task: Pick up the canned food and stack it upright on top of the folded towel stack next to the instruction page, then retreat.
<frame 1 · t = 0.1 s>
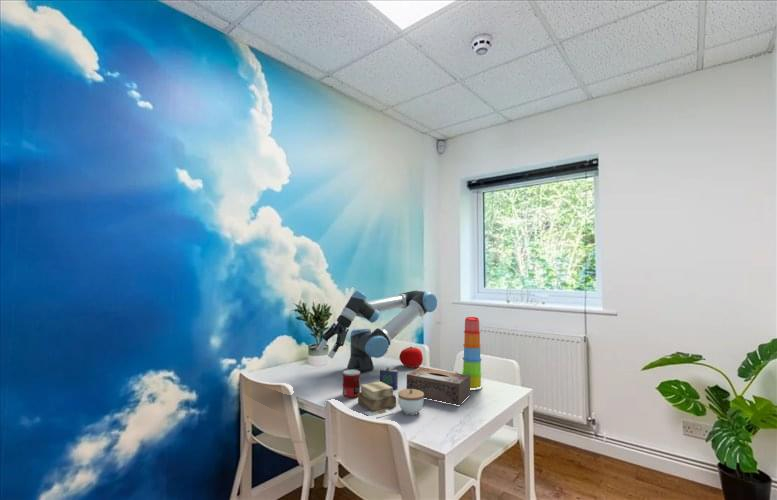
hand: (323, 354, 187), 15 cm above the table, tool tilted 35°, fingers open, 13 cm apart
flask: (388, 388, 182), on the table
tomato: (411, 366, 220), on the table
folded towel stack: (376, 405, 161), on the table
tissue box cover: (438, 396, 172), on the table
instruction page: (378, 413, 152), on the table
lidded jar: (410, 412, 153), on the table
canned food: (351, 396, 172), on the table
stacking cups: (471, 387, 184), on the table
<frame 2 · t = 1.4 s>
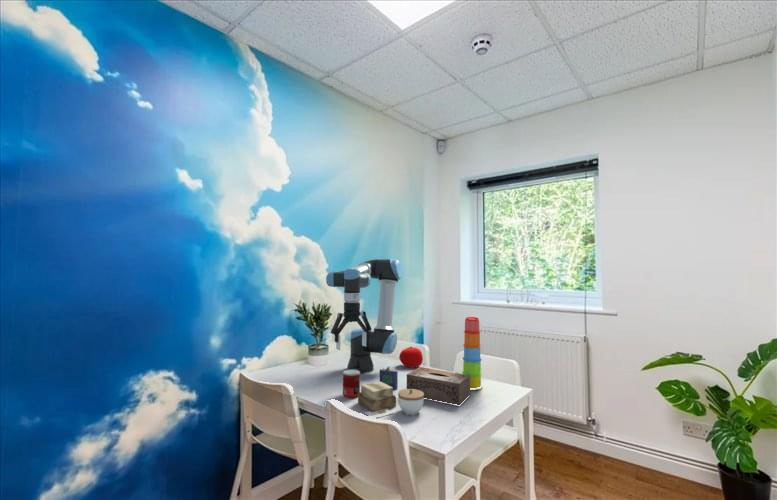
hand: (351, 347, 172), 22 cm above the table, tool pointing down, fingers open, 13 cm apart
nothing on the table moved.
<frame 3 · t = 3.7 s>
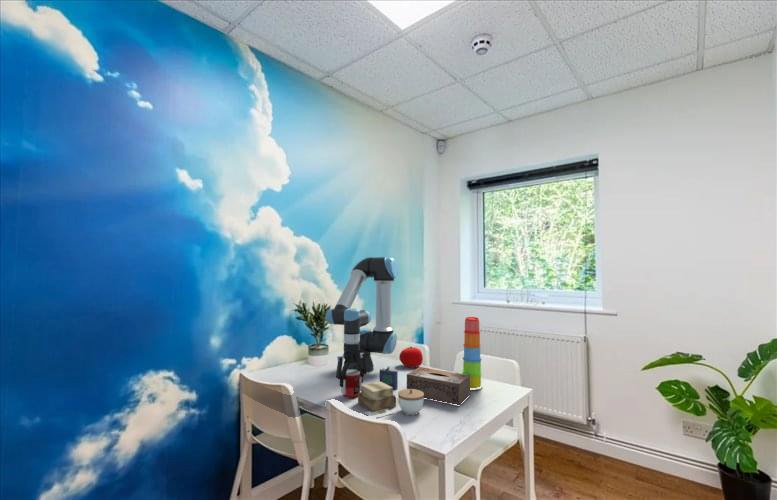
hand: (351, 391, 172), 2 cm above the table, tool pointing down, fingers closed on canned food, 8 cm apart
canned food: (351, 396, 172), on the table, touching gripper
everything else where it was.
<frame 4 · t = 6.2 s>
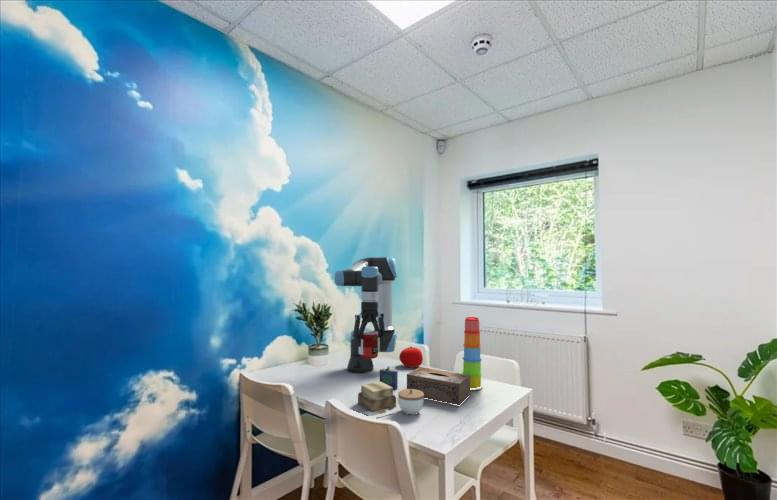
hand: (369, 352, 164), 22 cm above the table, tool pointing down, fingers closed on canned food, 8 cm apart
canned food: (369, 357, 164), point 20 cm above the table, touching gripper
everything else where it was.
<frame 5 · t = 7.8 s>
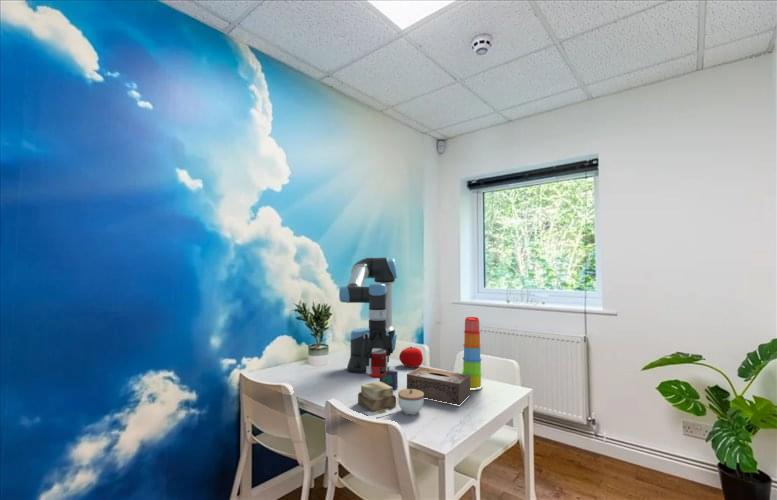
hand: (377, 371, 161), 14 cm above the table, tool pointing down, fingers closed on canned food, 8 cm apart
canned food: (377, 376, 161), point 12 cm above the table, touching gripper
everything else where it was.
when the fingers open (11 cm above the table, at t = 8.8 s): canned food drops 1 cm, resting on folded towel stack.
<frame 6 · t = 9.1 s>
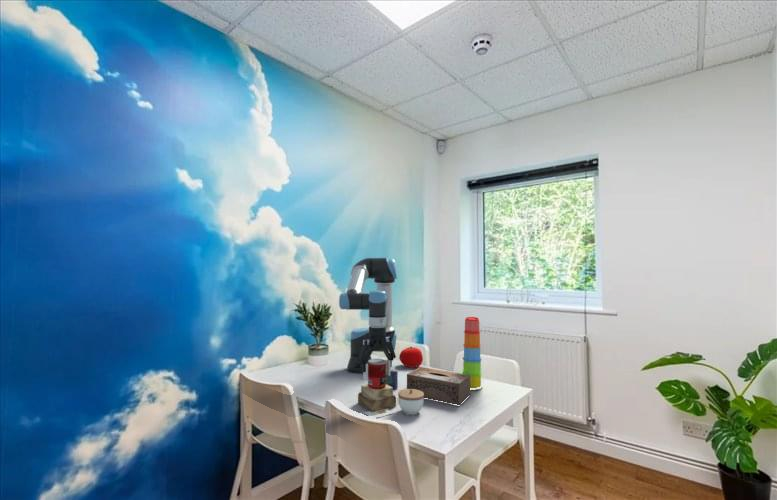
hand: (376, 377, 161), 12 cm above the table, tool pointing down, fingers open, 11 cm apart
canned food: (376, 386, 161), point 8 cm above the table, touching folded towel stack
everything else where it was.
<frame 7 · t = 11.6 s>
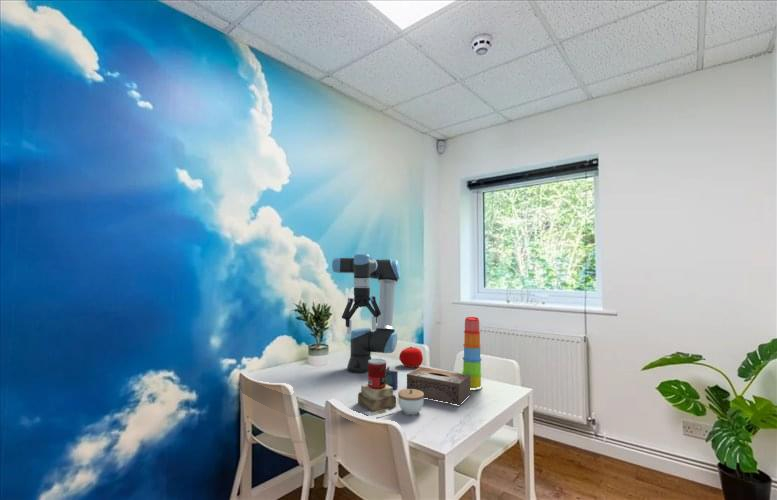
hand: (361, 332, 174), 29 cm above the table, tool pointing down, fingers open, 13 cm apart
nothing on the table moved.
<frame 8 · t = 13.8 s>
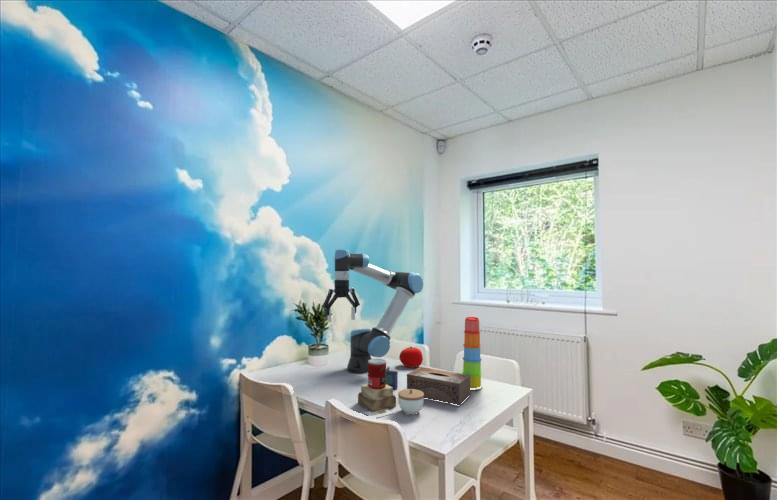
hand: (341, 320, 191), 32 cm above the table, tool pointing down, fingers open, 13 cm apart
nothing on the table moved.
at the end: canned food 0.0 cm from the folded towel stack (horizontally); canned food point 7.8 cm above the table; canned food tilted 0° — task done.
